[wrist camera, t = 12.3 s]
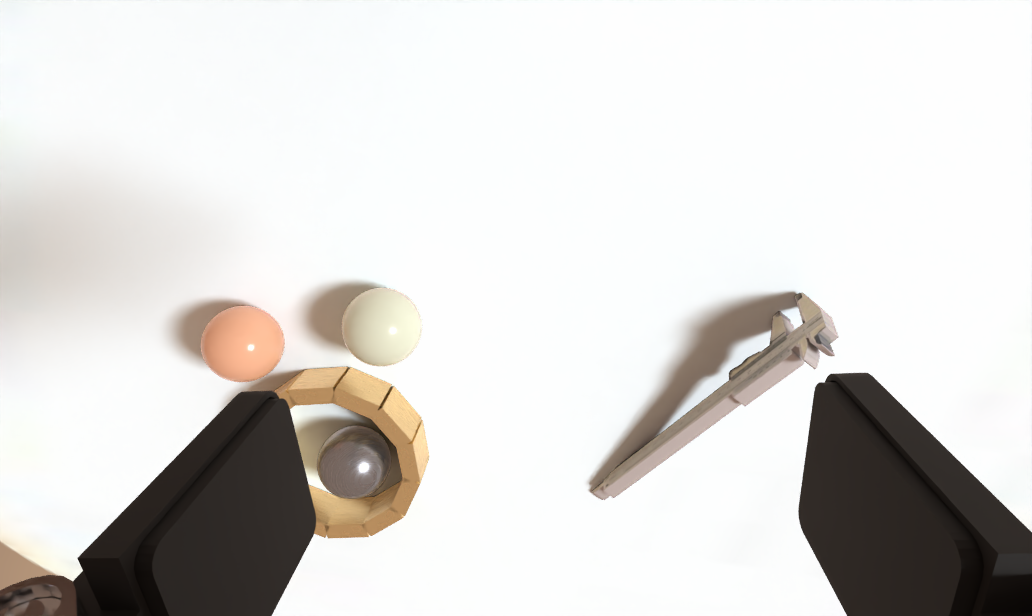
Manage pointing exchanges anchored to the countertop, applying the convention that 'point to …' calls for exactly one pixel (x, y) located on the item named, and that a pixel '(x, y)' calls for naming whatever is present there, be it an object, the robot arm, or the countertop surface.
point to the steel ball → (354, 462)
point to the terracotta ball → (242, 344)
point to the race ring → (392, 420)
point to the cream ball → (381, 327)
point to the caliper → (734, 390)
